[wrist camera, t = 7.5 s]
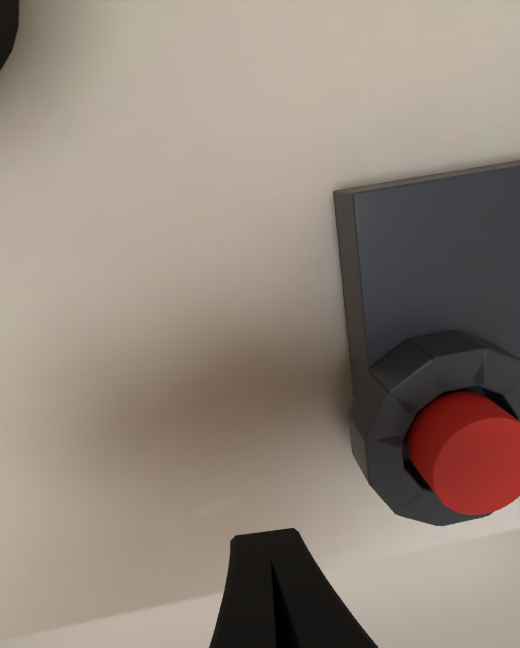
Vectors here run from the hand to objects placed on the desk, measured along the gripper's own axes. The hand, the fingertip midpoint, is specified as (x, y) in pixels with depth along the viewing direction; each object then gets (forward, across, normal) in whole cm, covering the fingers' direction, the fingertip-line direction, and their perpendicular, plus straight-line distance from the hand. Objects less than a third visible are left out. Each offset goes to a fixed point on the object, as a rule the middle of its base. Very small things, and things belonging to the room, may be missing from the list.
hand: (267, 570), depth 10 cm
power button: (+5, -7, 0) cm, 8 cm away
